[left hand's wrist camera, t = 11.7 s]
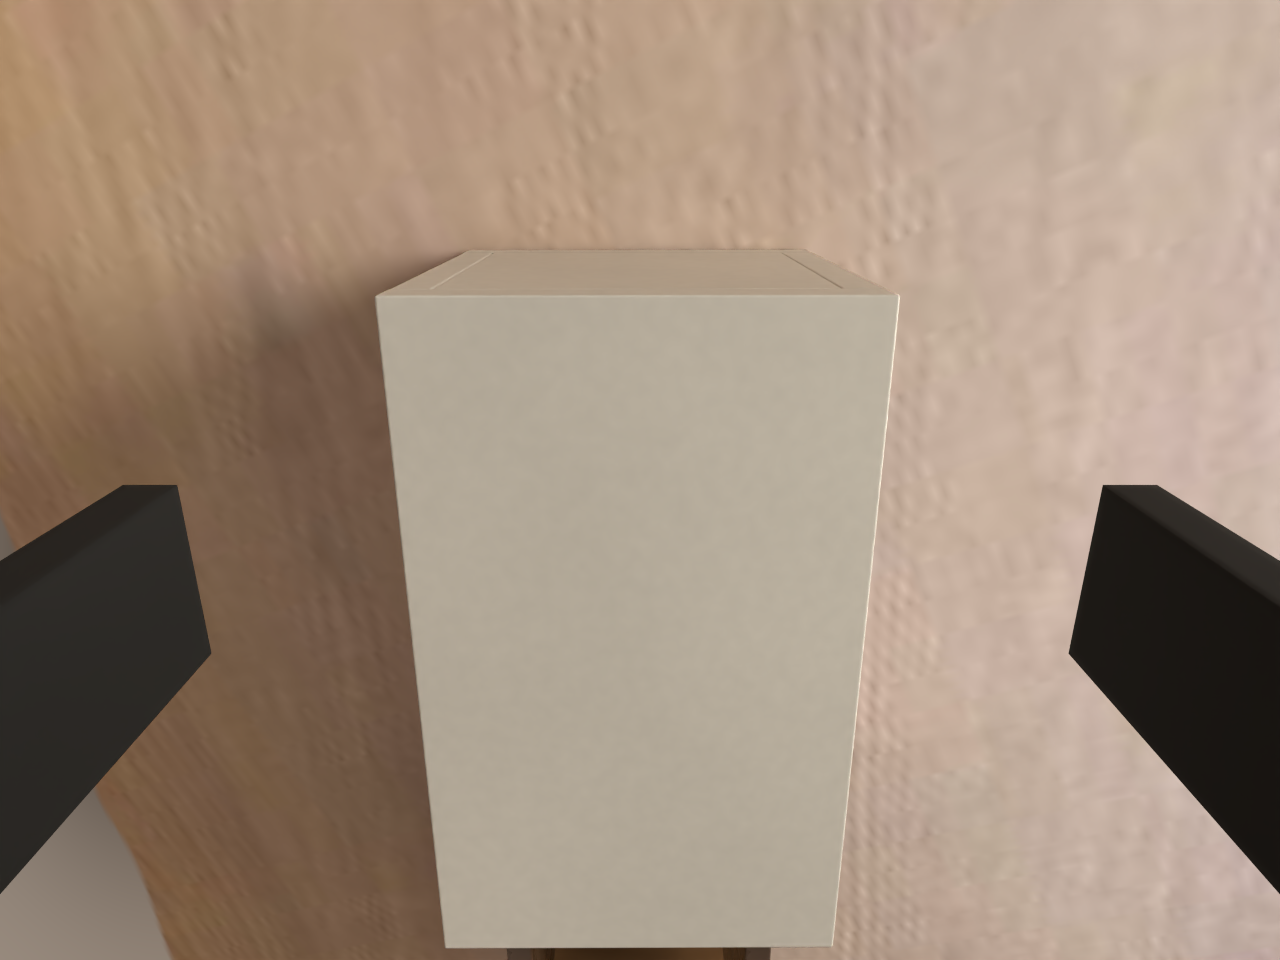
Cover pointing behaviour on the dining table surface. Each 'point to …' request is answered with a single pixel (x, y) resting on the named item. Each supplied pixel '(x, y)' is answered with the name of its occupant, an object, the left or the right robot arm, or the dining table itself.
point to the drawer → (640, 953)
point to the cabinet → (637, 584)
